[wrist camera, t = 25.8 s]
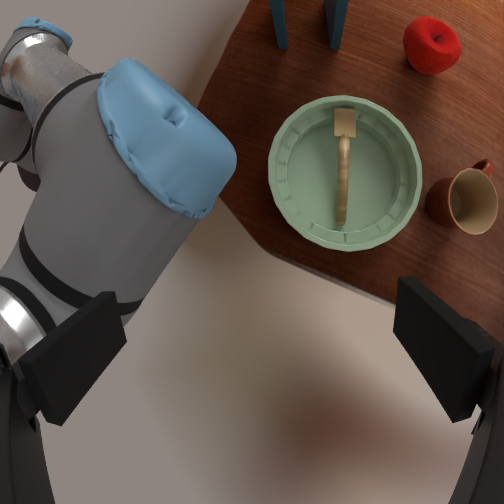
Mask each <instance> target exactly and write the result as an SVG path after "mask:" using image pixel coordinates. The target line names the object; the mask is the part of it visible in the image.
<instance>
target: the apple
mask: <svg viewBox="0 0 504 504" xmlns="http://www.w3.org/2000/svg"><path fill="white" fill-rule="evenodd" d="M403 44H404V50H405V53H406V56H407V58H408V60H409V62H410V64H411V66H412V67H413V68H414V69H415V70H416V71H418V72H420V73H422V74H425V75H434V74H438V73H440V72H443V71H445V70H447V69H448V68H450V67H452V66H453V65H454V64H455V63H456V61H457V60H458V59H459V56H460V54H461V44H460V42H459V39H458V37H457V35H456V33H455V32H454V31H453V30H452V28H451V27H450V26H448V25H447V24H445V23H444V22H442V21H440V20H437V19H435V18H432V17H430V16H422V17H419V18H417V19H415V20H414V21H413V22H412V23H410V24H409V26H408V27H407V28H406V30H405V33H404V38H403Z"/></svg>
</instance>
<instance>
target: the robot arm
mask: <svg viewBox="0 0 504 504" xmlns="http://www.w3.org/2000/svg"><path fill="white" fill-rule="evenodd" d="M71 45H72V38H71V37H70V36H69V35H68V34H67V33H66V32H65V31H63V30H62V29H60V28H59V27H57V26H55V25H53V24H51V23H49V22H47V21H44V20H40V19H39V18H35V17H30V18H26V19H24V20H23V21H22V22H21V24H20V25H19V26H18V27H17V28H16V29H15V30H14V32H13V34H12V36H11V37H10V39H9V40H8V42H7V44H6V45H5V47H4V48H3V50H2V52H1V53H0V161H2V162H3V161H4V163H3V164H2V166H1V167H0V172H1V171H2V169H3V168H4V167H5V166H6V165H7V164H8V163H9V162H13V163H16V164H17V165H19V166H21V167H22V168H24V169H25V170H27V171H29V172H31V173H34V174H38V175H39V177H40V180H41V183H40V187H39V189H38V191H37V193H36V195H35V197H34V200H33V202H32V204H31V206H30V209H29V211H28V213H27V216H26V218H25V222H24V224H23V227H22V229H21V232H20V234H19V238H18V240H17V242H16V245H15V247H14V249H13V251H12V253H11V255H10V257H9V258H8V260H7V262H6V263H5V265H4V266H3V267H2V269H1V270H0V504H55V501H54V497H53V493H52V489H51V485H50V480H49V476H48V471H47V466H46V461H45V456H44V451H43V444H42V437H41V430H40V423H39V421H38V419H37V417H36V414H37V413H38V411H40V410H41V412H42V414H43V416H44V418H45V419H46V421H47V422H49V423H52V424H56V425H59V426H62V425H63V424H64V422H65V421H66V419H67V418H68V417H69V416H70V414H71V413H72V412H73V410H74V409H75V408H76V406H77V405H78V404H79V402H80V401H81V399H82V398H83V397H84V396H85V394H86V393H87V392H88V391H89V389H90V388H91V387H92V385H93V384H94V383H95V381H96V380H97V379H98V377H99V376H100V375H101V374H102V372H103V371H104V370H105V369H106V367H107V366H108V365H109V364H110V362H111V361H112V360H113V359H114V357H115V356H116V355H117V353H118V352H119V351H120V350H121V348H122V347H123V346H124V345H125V343H126V342H127V340H126V336H125V332H124V328H123V327H124V326H125V325H126V323H128V321H129V320H130V319H131V318H132V316H133V315H134V314H135V313H136V311H137V310H138V308H139V306H140V305H141V303H142V301H143V299H144V298H145V296H146V295H147V293H148V292H149V291H150V289H151V288H152V286H153V285H154V283H155V282H156V280H157V279H158V277H159V276H160V275H161V273H162V272H163V270H164V269H165V267H166V266H167V264H168V263H169V262H170V260H171V259H172V257H173V256H174V255H175V253H176V252H177V250H178V249H179V248H180V246H181V245H182V243H183V242H184V241H185V239H186V238H187V236H188V235H189V234H190V232H191V231H192V230H193V228H194V227H195V225H196V224H197V223H198V221H199V220H200V219H201V218H204V217H205V216H206V215H208V213H209V212H210V211H211V210H212V208H213V207H214V203H215V199H216V198H217V196H218V195H219V193H220V192H221V191H222V189H223V188H224V186H225V185H226V183H227V182H228V181H229V179H230V178H231V176H232V175H233V173H234V171H235V168H236V164H237V156H236V152H235V149H234V147H233V145H232V144H231V142H230V141H229V140H228V139H227V138H226V137H225V136H224V135H223V134H222V133H221V132H220V131H219V130H218V129H217V128H216V127H215V126H214V125H213V124H212V123H211V122H210V121H209V120H208V119H207V118H206V117H205V116H204V115H203V114H202V113H201V112H199V111H198V110H197V109H196V108H194V107H193V106H192V105H191V104H189V103H188V102H187V101H186V100H185V99H184V98H183V97H182V96H181V95H180V94H179V93H178V92H176V91H175V90H174V89H173V88H172V87H171V86H169V85H168V84H167V83H166V82H164V81H163V80H161V79H160V78H159V77H158V76H157V75H156V74H154V73H153V72H152V71H150V70H149V69H148V68H147V67H145V66H144V65H142V64H141V63H139V62H138V61H136V60H133V59H132V58H124V59H122V60H120V61H118V62H117V63H116V64H115V65H114V66H113V67H112V68H111V69H108V70H107V71H106V72H99V73H91V72H90V71H88V70H87V69H85V68H84V67H83V66H81V65H80V64H78V63H77V62H75V61H74V60H72V59H71V58H70V57H68V50H69V49H70V46H71ZM393 333H394V334H395V335H396V337H397V338H398V340H399V341H400V342H401V344H402V346H403V347H404V348H405V350H406V351H407V353H408V354H409V356H410V357H411V359H412V360H413V362H414V363H415V365H416V366H417V368H418V369H419V371H420V372H421V374H422V375H423V377H424V378H425V380H426V381H427V383H428V385H429V386H430V388H431V389H432V391H433V392H434V394H435V395H436V397H437V399H438V400H439V402H440V403H441V405H442V407H443V408H444V410H445V411H446V413H447V415H448V416H449V418H450V420H451V421H452V423H455V422H458V421H461V420H464V419H467V418H470V417H471V416H472V413H473V411H474V409H475V406H476V404H478V406H479V407H480V408H481V410H482V411H481V413H480V416H479V418H478V420H477V422H476V424H475V426H474V428H473V431H472V433H471V434H473V439H472V442H471V446H470V448H469V452H468V455H467V458H466V460H465V463H464V466H463V469H462V472H461V474H460V477H459V479H458V482H457V485H456V487H455V489H454V492H453V494H452V496H451V499H450V501H449V503H448V504H504V347H503V346H502V345H501V344H500V343H499V342H498V341H497V340H496V339H494V338H493V337H492V336H491V335H490V336H489V333H488V332H486V331H485V330H483V328H482V327H481V326H480V325H478V324H477V323H476V322H474V321H472V320H469V319H467V318H463V317H462V316H460V315H459V314H458V313H457V312H456V311H455V310H453V309H452V308H451V307H450V306H449V305H448V304H446V303H445V302H444V301H443V300H442V299H440V298H439V297H438V296H437V295H436V294H434V293H433V292H432V291H431V290H429V289H428V288H427V287H426V286H425V285H423V284H422V283H421V282H420V281H418V280H417V279H416V278H415V277H413V276H409V277H398V287H397V299H396V309H395V318H394V327H393Z"/></svg>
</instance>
